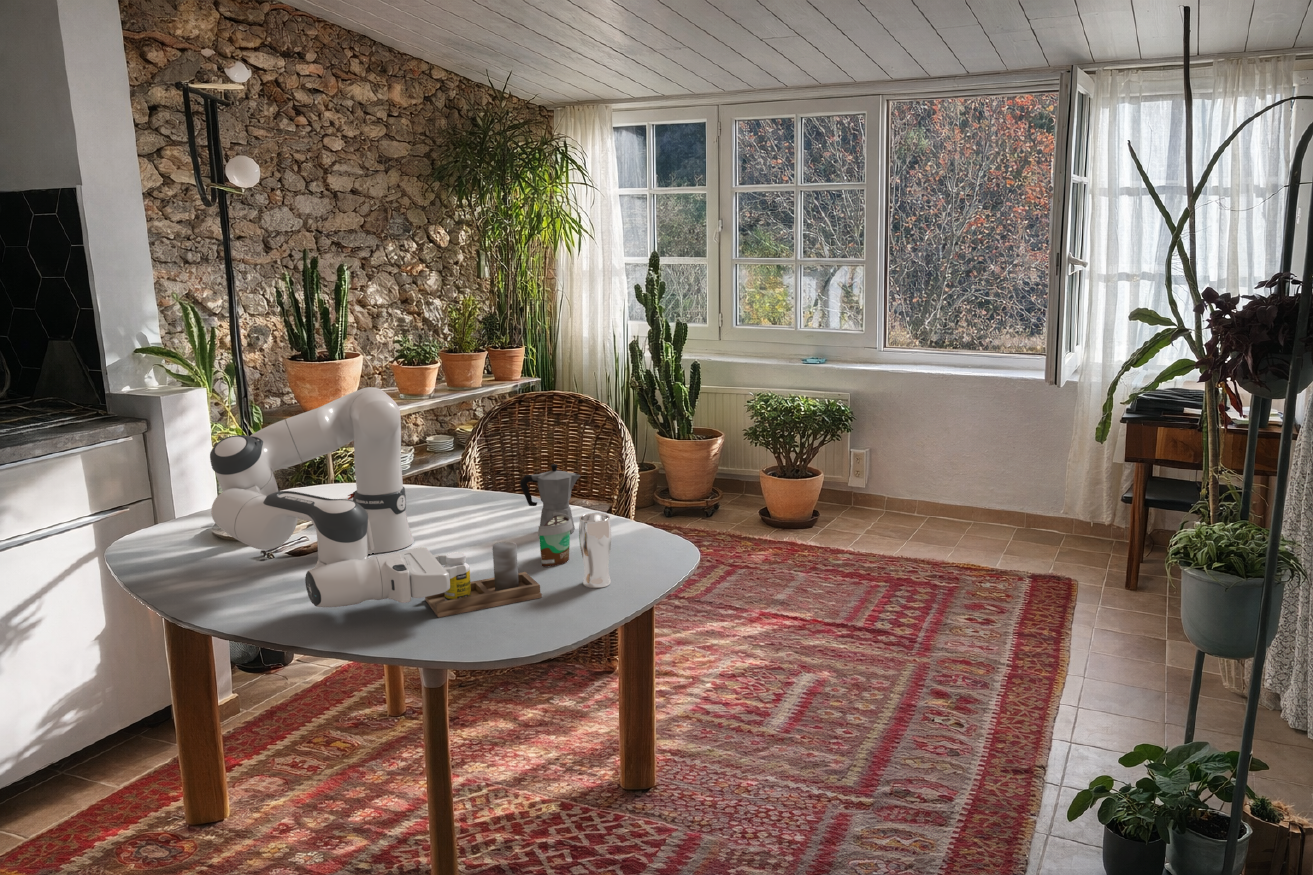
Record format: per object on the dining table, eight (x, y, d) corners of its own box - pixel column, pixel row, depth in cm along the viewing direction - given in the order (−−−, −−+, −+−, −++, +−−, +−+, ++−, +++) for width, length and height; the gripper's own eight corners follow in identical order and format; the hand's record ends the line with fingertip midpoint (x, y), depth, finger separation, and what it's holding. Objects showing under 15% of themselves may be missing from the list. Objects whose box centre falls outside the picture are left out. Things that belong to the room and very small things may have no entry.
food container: (565, 570, 219) (563, 527, 217) (539, 568, 220) (537, 526, 218) (580, 552, 230) (578, 512, 228) (555, 551, 232) (554, 511, 230)
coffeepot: (579, 524, 253) (577, 458, 250) (585, 534, 244) (582, 466, 241) (521, 529, 250) (517, 462, 246) (524, 540, 241) (520, 470, 237)
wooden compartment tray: (438, 617, 192) (434, 566, 190) (425, 599, 202) (421, 551, 200) (541, 597, 202) (539, 548, 200) (524, 581, 212) (522, 534, 210)
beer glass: (588, 591, 205) (586, 523, 202) (576, 581, 211) (573, 515, 208) (618, 585, 208) (616, 518, 205) (604, 575, 214) (602, 511, 211)
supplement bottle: (458, 606, 196) (455, 560, 194) (439, 601, 199) (436, 556, 197) (477, 597, 200) (474, 553, 198) (458, 593, 203) (455, 549, 201)
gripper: (383, 574, 202) (448, 563, 208) (404, 606, 184) (475, 593, 190) (381, 546, 201) (446, 535, 207) (402, 575, 183) (473, 563, 189)
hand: (460, 563), depth 198 cm, fingers closed on supplement bottle, 5 cm apart
